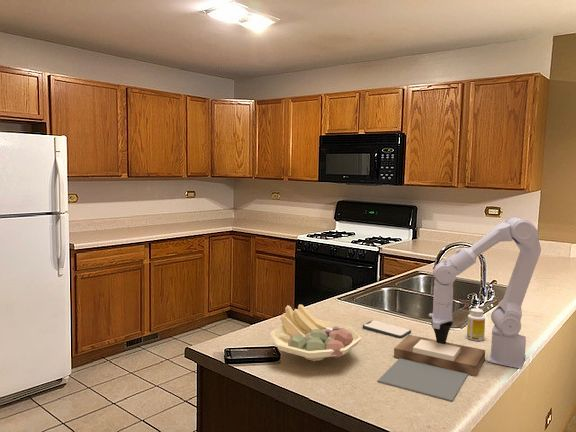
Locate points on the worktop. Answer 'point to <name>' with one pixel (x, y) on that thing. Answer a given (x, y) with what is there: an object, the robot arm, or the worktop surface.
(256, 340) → the worktop surface
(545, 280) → the worktop surface
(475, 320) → the supplement bottle
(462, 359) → the brown wooden flat block
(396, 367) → the mat
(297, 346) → the dish with food
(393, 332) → the phone case
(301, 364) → the worktop surface
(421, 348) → the cream flat block
